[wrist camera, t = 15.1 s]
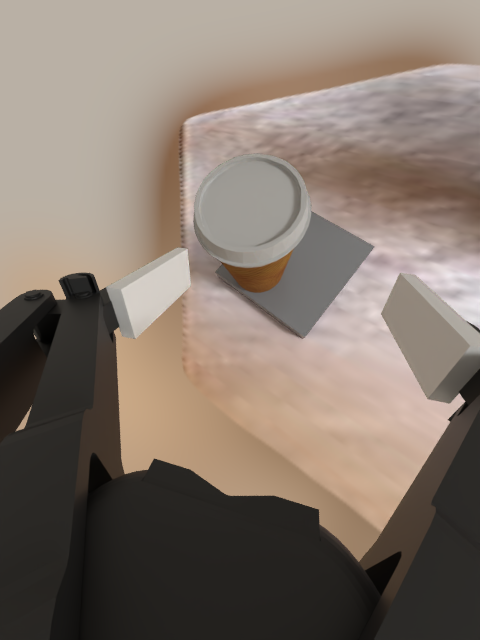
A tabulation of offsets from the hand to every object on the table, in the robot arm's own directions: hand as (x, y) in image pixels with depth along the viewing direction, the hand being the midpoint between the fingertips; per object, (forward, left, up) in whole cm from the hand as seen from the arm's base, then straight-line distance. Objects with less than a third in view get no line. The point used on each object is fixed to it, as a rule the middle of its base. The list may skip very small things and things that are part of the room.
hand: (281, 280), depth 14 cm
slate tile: (-7, -3, -14) cm, 16 cm away
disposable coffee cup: (-4, -6, -13) cm, 15 cm away
